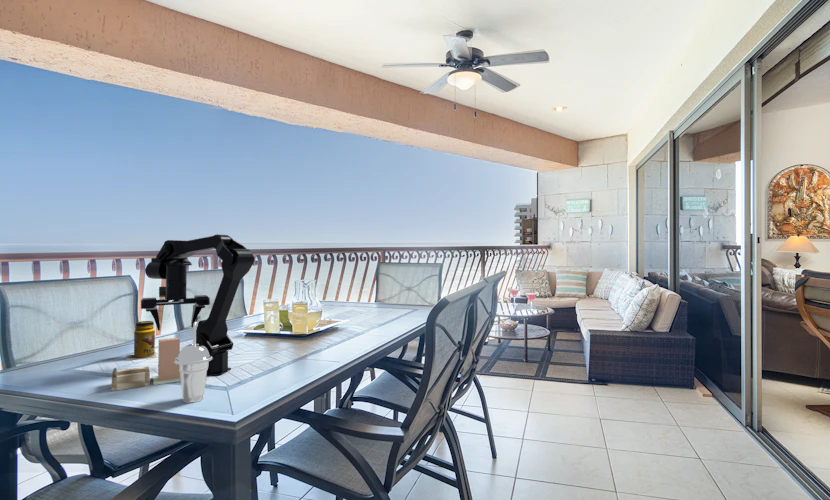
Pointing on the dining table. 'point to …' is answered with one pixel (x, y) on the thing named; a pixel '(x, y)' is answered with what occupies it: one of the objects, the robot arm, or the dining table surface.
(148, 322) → the condiment
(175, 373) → the pinkish tan rectangular block
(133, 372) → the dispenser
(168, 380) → the pad
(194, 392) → the cup with straw
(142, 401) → the dining table surface
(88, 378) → the dining table surface
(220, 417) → the dining table surface
